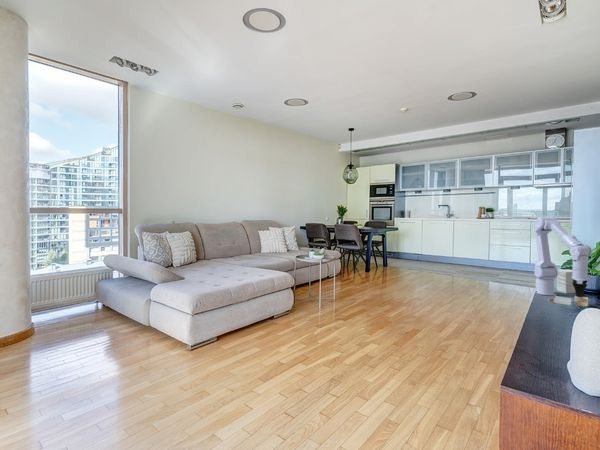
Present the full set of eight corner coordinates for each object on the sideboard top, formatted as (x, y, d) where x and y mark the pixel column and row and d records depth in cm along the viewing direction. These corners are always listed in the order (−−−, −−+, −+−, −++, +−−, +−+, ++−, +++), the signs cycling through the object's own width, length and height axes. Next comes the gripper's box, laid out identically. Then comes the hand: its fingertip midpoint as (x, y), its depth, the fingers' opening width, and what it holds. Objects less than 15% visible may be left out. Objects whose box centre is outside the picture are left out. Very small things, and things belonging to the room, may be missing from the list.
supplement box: (569, 290, 185) (570, 269, 184) (579, 293, 177) (580, 271, 177) (556, 290, 185) (556, 269, 185) (565, 293, 178) (566, 271, 178)
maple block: (574, 305, 157) (574, 297, 156) (574, 303, 160) (574, 295, 159) (587, 307, 153) (588, 299, 153) (587, 305, 156) (588, 297, 156)
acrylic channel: (554, 302, 161) (554, 298, 161) (555, 299, 166) (555, 296, 166) (570, 305, 157) (570, 301, 156) (571, 302, 161) (571, 298, 161)
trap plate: (547, 301, 163) (547, 301, 163) (548, 299, 168) (548, 298, 168) (554, 302, 161) (554, 302, 161) (554, 299, 166) (554, 299, 166)
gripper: (591, 272, 148) (590, 299, 149) (590, 267, 159) (590, 293, 159) (571, 270, 153) (571, 297, 153) (572, 266, 163) (571, 291, 164)
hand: (579, 295), depth 157 cm, fingers open, 7 cm apart
